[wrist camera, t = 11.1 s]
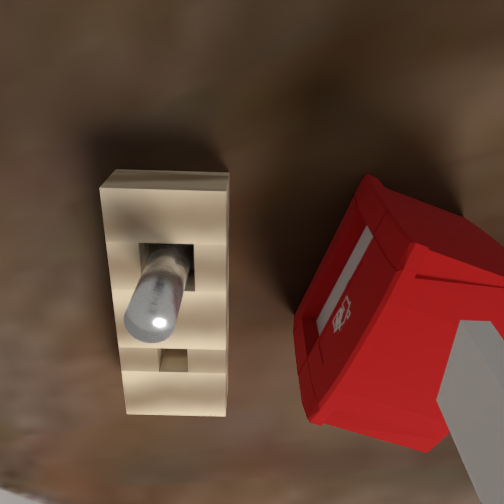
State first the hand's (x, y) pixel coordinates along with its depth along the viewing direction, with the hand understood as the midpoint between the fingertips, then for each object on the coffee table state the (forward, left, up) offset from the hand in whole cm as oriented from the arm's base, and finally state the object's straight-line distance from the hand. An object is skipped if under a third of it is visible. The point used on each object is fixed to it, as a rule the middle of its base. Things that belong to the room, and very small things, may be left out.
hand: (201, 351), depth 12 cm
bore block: (+17, -6, -31) cm, 35 cm away
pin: (+12, -6, -30) cm, 32 cm away
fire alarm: (+14, +13, -31) cm, 36 cm away
